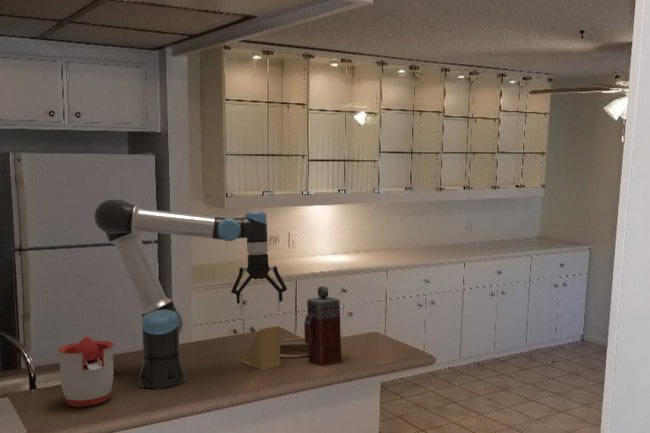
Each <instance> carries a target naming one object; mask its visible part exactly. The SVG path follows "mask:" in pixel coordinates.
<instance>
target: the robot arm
mask: <svg viewBox="0 0 650 433" xmlns="http://www.w3.org/2000/svg"><path fill="white" fill-rule="evenodd" d="M93 215H94V222H95V224H96V226H97V227H98V229H99V230H101V231H102V232H104V233H105V235H106V237H107V240H108V242H109V244H111V245H114V246H115V247H116V248H117V251H118V252H119V255H120V258H121V260H122V262H123V265H124V267H125V269H126V272H127V274H128V276H129V279H130V282H131V283H132V286H133V287H134V290H135V292H136V295H137V297H138V298H139V299H138V300H139V302H140V304H141V306H142V310H141V312H140V314H141V315H140V316H141V318H142V319H141V320H142V322H141V328H142V346H143V347H142V349H143V350H142V351H143V353H142V355H143V362H142V366H141V370H140V372H139V376H138V384H139V383H140V385H142V386H144V387H147V388H146V389H148V388H153V389H155V390H156V389H166V388H167V389H168V388H173V387H177V386H179V385H182V384H183V383H185V382H186V371H185V369H184V366H183V363H182V361H181V358H180V334H181V333H182V330H183V325H184V323H183V322H184V321H183V317H182V315H181V314H180V312H179V311H178V310H177V308H176V306H175V303H174V302H173V299H171V298H168V297H167V296H166V293H165V292H164V291H165V290H163V286H162V284H161V282H160V280H159V278H158V275H157V274H156V273H157V272H156V271H155V268H154V267H153V266H154V265H153V264H152V262H151V259H150V257H149V255H148V253H147V252H148V251H147V249H146V248H145V245H144V243H143V241H142V238H141V236H140V235H141V233H142V232H144V233H152V234H153V233H157V234H166V235H175V236H184V237H185V236H186V237H195V238H203V239H214V240H221V241H226V242H233V241H235V240H236V239H246V250H247V251H246V252H247V253H248V254H247V267H243V266H242V267H239V269H238V275H237V277H236V280H235V282H234V284H233V287H232V289H231V291H230V292H231V294H234V295H236V304H239V313H240V314H242V313H244V300H243V299H244V298H243V295H244V294H243V293H242V291H243V290H244V289H245V288H246V286H247V285H248V284H249V283H250V281H251V280H252V279H253V280H264V279H266V281H268V282H269V284H270V285H271V286H272V287H273V288H274V289H275V290H276V291H277V292H276V308H277V310H276V311H277V312H281V303H282V302H283V300H284V298H283V293H284V292H286V291H287V290H288V287H287V286H286V284H285V282H284V280H283V278H282V277H281V275H280V272H279V271H278V266H277V265H274V266H270V265H269V254H268V253H269V246H268V223H267V214H266V212H264V211H249V212H248V211H247V212H245V217H227V218H226V217H219V216H218V217H216V216H211V215H202V214H201V215H200V214H193V213H185V212H184V213H181V212H175V211H166V210H165V211H164V210H157V209H149V208H148V209H147V208H140V207H139V206H138V205H137V204H131V203H130V202H128V201H126V200H123V199H114V198H112V199H107V200H105V201H103V202H101V203H100V204H98V206H97V207H96V209H95V211H94V214H93ZM270 271H271V273H273V274H274V276H275V277H276V279H277V281H278V283H279V284H280V285H278V283H276V281H274V279H273V278H272V277H271V276H270V275H269V274H268V273H269V272H270ZM245 273H247V274H248V277H247V278H246V279H245V280H244V282H243V283H242V284H241V286H240V287H239V288H238V286H239V284H240V282H241V280H242V278H243V275H244V274H245ZM237 289H238V290H237ZM153 389H152V390H153Z"/></svg>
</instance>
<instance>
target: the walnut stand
mask: <svg viewBox="0 0 650 433" xmlns="http://www.w3.org/2000/svg"><path fill="white" fill-rule="evenodd" d="M280 354H287V355H288V354H289V355H305V356H309V346H308V344H307V343H305V337H291V338H290V337H289V338H280Z"/></svg>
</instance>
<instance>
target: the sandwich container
mask: <svg viewBox="0 0 650 433" xmlns="http://www.w3.org/2000/svg"><path fill="white" fill-rule="evenodd" d="M280 339H281V327H280V325H276V326H275V325H274V326H269V327H265V328H264V327H263V328H259V330H258V332H257V334H256V335H255V337H254V340H253V342H252V343H251V346H250V347H249V349H248V351H247V353H246V354H245V357H244V358H243V360H244V361H246V362H248V363H249V364H251V365H252V366H254V367H255V368H254V369H256V368H257V369H256V370H259V371H265V370H271V369H275V368H274V367H276V368H279V367H278V366H281V363H282V362H281V358H280Z"/></svg>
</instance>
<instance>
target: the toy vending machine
mask: <svg viewBox="0 0 650 433" xmlns="http://www.w3.org/2000/svg"><path fill="white" fill-rule="evenodd" d="M317 296H318V297H311V298H308V299H307V301H306V307H307V308H306V309H307V310H306V311H307V315H305V319H304V322H303V323H304V326H303V327H304V338H305V343H307V344H308V346H309V357H308V362H309V361H310V363H312V364H315V365H318V366H319V367H325V366H330V365H334V364H340V363H342V338H341V337H342V335H341V333H342V332H341V304H340V303H341V302H340V299H339V298H335V297H332V296H331V297H330V296H329V289H328V287H327V286H326V285H323V286H318V288H317Z"/></svg>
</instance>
